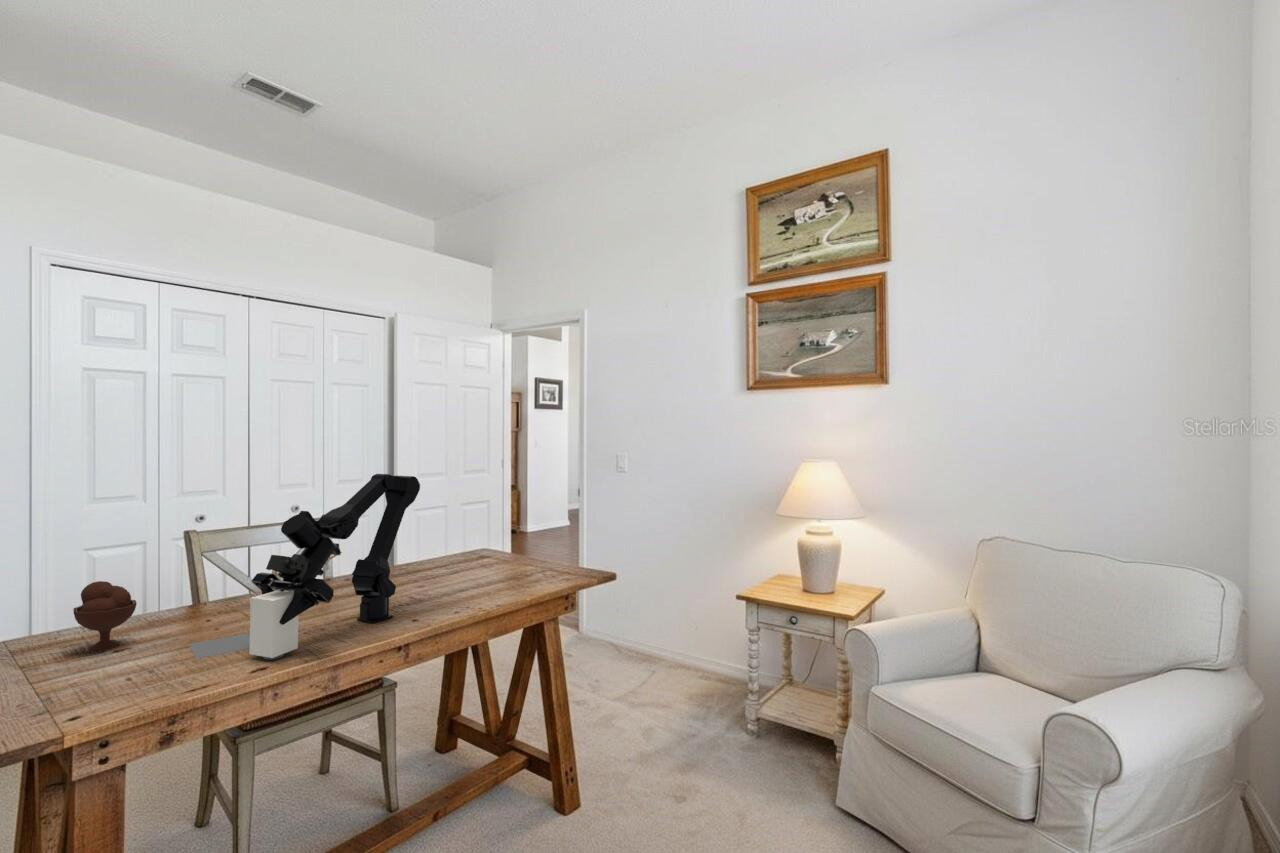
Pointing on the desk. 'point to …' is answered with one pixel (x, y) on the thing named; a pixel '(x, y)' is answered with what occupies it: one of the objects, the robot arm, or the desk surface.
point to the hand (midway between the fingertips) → (269, 622)
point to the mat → (220, 646)
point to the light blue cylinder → (274, 657)
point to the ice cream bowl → (104, 611)
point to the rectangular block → (272, 625)
